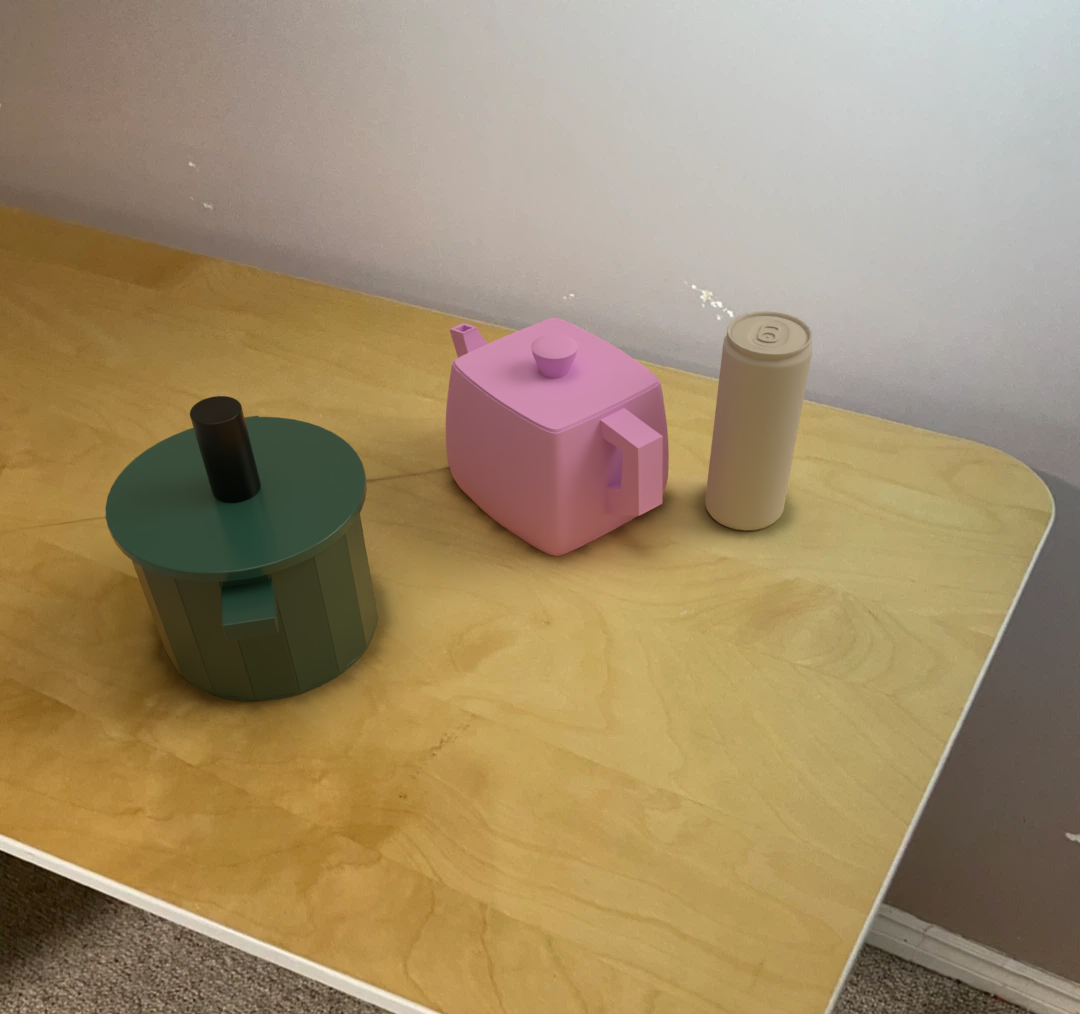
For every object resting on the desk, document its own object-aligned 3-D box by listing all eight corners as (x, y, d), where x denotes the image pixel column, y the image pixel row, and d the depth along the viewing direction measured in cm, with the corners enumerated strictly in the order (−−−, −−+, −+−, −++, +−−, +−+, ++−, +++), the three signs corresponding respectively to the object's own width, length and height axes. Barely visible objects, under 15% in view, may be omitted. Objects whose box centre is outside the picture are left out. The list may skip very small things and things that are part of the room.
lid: (106, 611, 52) (65, 511, 47) (117, 453, 60) (83, 356, 56) (382, 569, 53) (366, 469, 49) (355, 421, 62) (339, 325, 57)
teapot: (403, 457, 74) (384, 311, 66) (528, 399, 78) (524, 256, 70) (580, 597, 64) (581, 446, 56) (711, 523, 68) (729, 373, 61)
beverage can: (695, 527, 68) (715, 347, 59) (713, 482, 71) (735, 304, 62) (774, 542, 67) (806, 361, 58) (789, 495, 70) (821, 316, 61)
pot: (167, 759, 56) (113, 630, 50) (170, 549, 68) (126, 420, 61) (395, 721, 58) (372, 591, 51) (361, 521, 69) (339, 393, 62)
